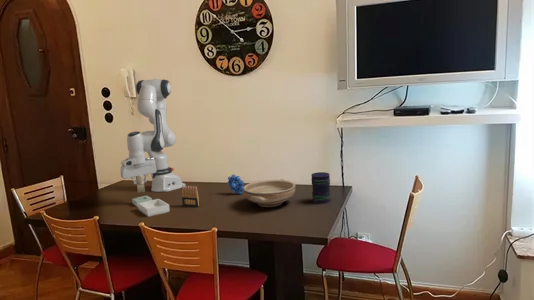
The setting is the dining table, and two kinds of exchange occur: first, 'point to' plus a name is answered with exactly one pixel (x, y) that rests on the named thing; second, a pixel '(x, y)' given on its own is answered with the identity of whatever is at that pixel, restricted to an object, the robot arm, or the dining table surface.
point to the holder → (140, 200)
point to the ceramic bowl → (269, 192)
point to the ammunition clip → (190, 196)
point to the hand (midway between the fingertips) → (140, 183)
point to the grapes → (235, 184)
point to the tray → (153, 207)
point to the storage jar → (321, 188)
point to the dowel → (140, 184)
